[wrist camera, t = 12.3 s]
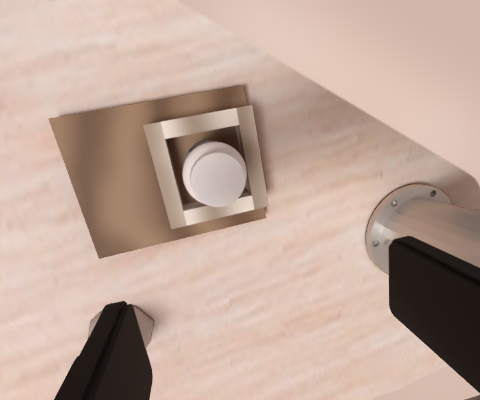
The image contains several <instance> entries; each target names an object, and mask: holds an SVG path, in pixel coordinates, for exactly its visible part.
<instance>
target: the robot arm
mask: <svg viewBox="0 0 480 400" xmlns="http://www.w3.org/2000/svg"><path fill="white" fill-rule="evenodd" d="M366 247H367V252H368V255H369V257H370V259H371V261H372V262H373V263H374V264H375V266H377V267H378V268H379V269H380V270H382V271H383V272H385V273H387V274H388V275H389V306H390V310H391V312H392V314H393V315H394V316H395V317H396V318H397V319H398V320H399V321H400V322H401V323H402V324H404V325H405V326H406V327H407V328H408V329H409V330H410V331H411V332H412V333H414V334H415V335H416V336H417V337H418V338H419V339H420V340H421V341H423V342H424V343H425V344H426V345H427V346H428V347H429V348H430V349H431V350H433V351H434V352H435V353H436V354H437V355H438V356H439V357H440V358H441V359H443V360H444V361H445V362H446V363H447V364H448V365H449V366H450V367H451V368H453V369H454V370H455V371H456V372H457V373H458V374H459V375H460V376H461V377H463V378H464V379H465V380H466V381H467V382H468V383H469V384H470V385H471V386H473V387H474V388H475V389H476V390H477V391H478V392H479V393H480V209H476V210H469V209H466V208H462V207H458V206H455V205H453V204H452V203H451V201H450V199H449V197H448V196H447V195H446V194H445V193H444V192H442V191H441V190H439V189H438V188H435V187H432V186H428V185H422V184H412V185H408V186H404V187H402V188H399V189H397V190H395V191H394V192H392V193H391V194H389V195H388V196H387V197H386V198H385V199H384V200H383V201H382V202H381V203H380V204H379V205H378V207H377V208H376V209H375V211H374V213H373V215H372V216H371V218H370V221H369V224H368V227H367V232H366ZM151 386H152V368H151V365H150V361H149V358H148V355H147V351H146V348H145V344H144V341H143V338H142V334H141V331H140V328H139V324H138V321H137V318H136V314H135V311H134V308H133V305H132V304H128V305H127V303H126V302H125V301H122V302H117V303H113V304H108V305H106V306H105V307H104V309H103V311H102V313H101V315H100V317H99V319H98V321H97V322H96V324H95V326H94V328H93V330H92V332H91V334H90V336H89V338H88V340H87V342H86V344H85V346H84V348H83V350H82V352H81V354H80V356H78V357H77V358H76V359H75V361H74V363H73V364H72V366H71V368H70V370H69V372H68V374H67V376H66V378H65V380H64V382H63V384H62V385H61V387H60V389H59V391H58V393H57V395H56V397H55V399H54V400H149V398H150V392H151ZM466 400H480V395H478V396H475V397H472V398H469V399H466Z"/></svg>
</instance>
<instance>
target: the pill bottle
mask: <svg viewBox="0 0 480 400" xmlns="http://www.w3.org/2000/svg"><path fill="white" fill-rule="evenodd" d="M182 175H183V182H184V185H185V187H186V189H187V191H188V192H189V194H190V195H191V196H192V197H193V198H194V199H196V200H197V201H199V202H201V203H203V204H206V205H209V206H212V207H223V206H227V205H229V204H231V203H233V202H234V201H236V200H237V199H238V198H239V197H240V195H241V194H242V192H243V190H244V187H245V183H246V178H247V170H246V165H245V162H244V160H243V158H242V156H241V155H240V154H239V152H238V151H237V150H235V149H234V148H233V147H231V146H230V145H228V144H225V143H222V142H218V141H213V140H206V141H201V142H199V143H197V144H195V145H194V146H193V147H191V149H190V150H189V151H188V152H187V154H186V156H185V159H184V165H183V171H182Z"/></svg>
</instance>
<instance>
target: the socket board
mask: <svg viewBox="0 0 480 400" xmlns="http://www.w3.org/2000/svg"><path fill="white" fill-rule="evenodd" d="M49 121H50V124H51V127H52V130H53V132H54V135H55V138H56V141H57V144H58V146H59V149H60V152H61V155H62V157H63V160H64V163H65V166H66V168H67V171H68V174H69V177H70V180H71V182H72V185H73V188H74V191H75V193H76V196H77V199H78V202H79V204H80V207H81V210H82V213H83V216H84V218H85V221H86V224H87V227H88V229H89V232H90V235H91V238H92V240H93V243H94V246H95V249H96V252H97V254H98V257H99V259H100V258H104V257H108V256H112V255H116V254H120V253H124V252H128V251H133V250H137V249H141V248H145V247H149V246H153V245H157V244H161V243H165V242H169V241H174V240H178V239H182V238H186V237H190V236H194V235H198V234H202V233H206V232H210V231H215V230H219V229H223V228H227V227H231V226H235V225H239V224H243V223H247V222H252V221H256V220H260V219H264V218H266V215H265V209H264V207H268V206H269V204H268V198H267V192H266V186H265V180H264V174H263V168H262V162H261V155H260V149H259V143H258V137H257V131H256V125H255V119H254V112H253V106H252V105H249V106H247V101H246V95H245V90H244V85H241V86H235V87H229V88H223V89H218V90H212V91H206V92H200V93H194V94H189V95H183V96H177V97H171V98H165V99H160V100H154V101H148V102H142V103H137V104H131V105H125V106H119V107H113V108H108V109H102V110H96V111H90V112H84V113H79V114H73V115H67V116H61V117H56V118H50V119H49ZM206 140H213V141H218V142H222V143H225V144H228V145H230V146H231V147H233V148H234V149H235V150H237V151H238V152H239V154H240V155H241V156H242V158H243V160H244V162H245V165H246V170H247V178H246V183H245V187H244V190H243V192H242V194H241V195H240V197H239V198H238V199H237V200H236V201H234V202H233V203H231V204H229V205H227V206H223V207H212V206H209V205H206V204H203V203H201V202H199V201H197V200H196V199H194V198H193V197H192V196H191V195H190V194H189V192H188V191H187V189H186V187H185V185H184V182H183V175H182V171H183V165H184V159H185V156H186V154H187V152H188V151H189V150H190V149H191V147H193V146H194V145H195V144H197V143H199V142H201V141H206Z"/></svg>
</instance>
